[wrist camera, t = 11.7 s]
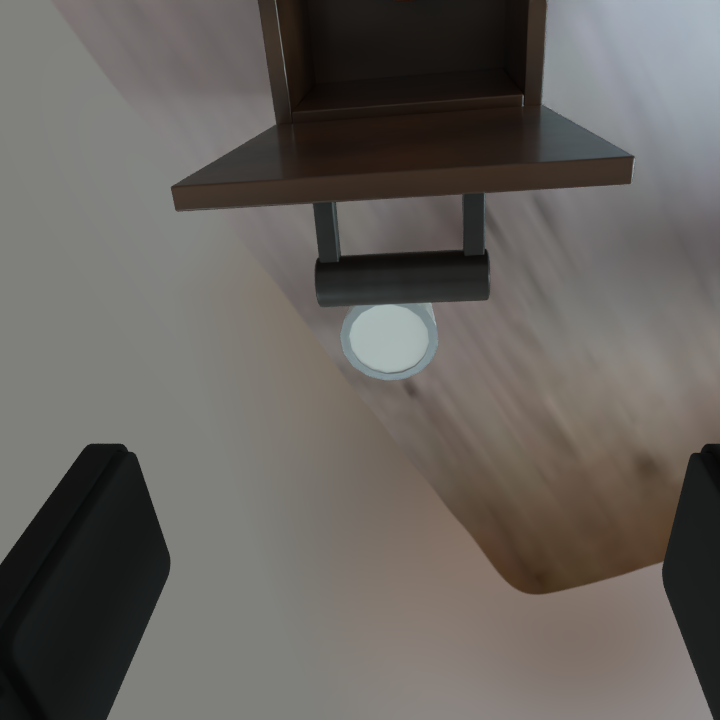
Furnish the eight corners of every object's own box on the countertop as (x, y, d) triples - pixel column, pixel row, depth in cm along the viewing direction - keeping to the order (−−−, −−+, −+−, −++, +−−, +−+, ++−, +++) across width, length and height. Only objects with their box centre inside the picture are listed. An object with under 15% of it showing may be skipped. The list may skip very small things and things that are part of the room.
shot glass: (331, 291, 50) (319, 335, 44) (396, 237, 48) (393, 276, 42) (388, 348, 53) (384, 397, 47) (454, 300, 50) (458, 345, 44)
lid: (169, 186, 20) (200, 334, 22) (636, 155, 18) (618, 318, 20) (274, 124, 33) (286, 219, 36) (543, 104, 32) (538, 204, 34)
